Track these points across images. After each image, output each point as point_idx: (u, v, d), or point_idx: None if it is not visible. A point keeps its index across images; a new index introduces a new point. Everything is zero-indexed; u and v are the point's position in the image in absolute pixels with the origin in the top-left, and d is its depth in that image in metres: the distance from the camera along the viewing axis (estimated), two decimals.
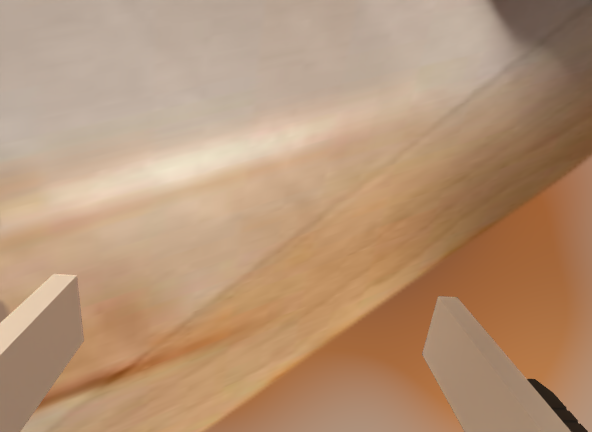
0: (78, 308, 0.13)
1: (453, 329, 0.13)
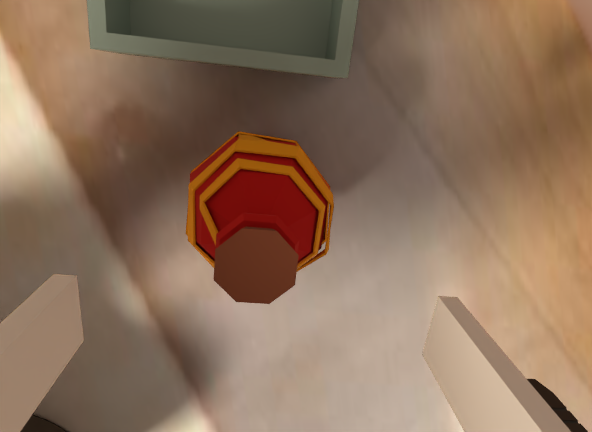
0: (78, 308, 0.13)
1: (454, 329, 0.13)
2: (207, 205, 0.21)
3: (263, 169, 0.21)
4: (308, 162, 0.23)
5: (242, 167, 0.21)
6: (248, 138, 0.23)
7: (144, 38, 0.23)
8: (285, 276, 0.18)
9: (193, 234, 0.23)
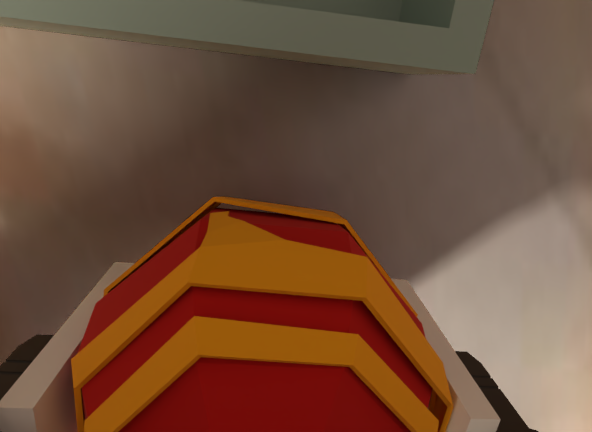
0: None
1: None
2: None
3: (273, 356, 0.07)
4: (391, 297, 0.09)
5: (207, 354, 0.07)
6: (231, 235, 0.09)
7: None
8: None
9: None
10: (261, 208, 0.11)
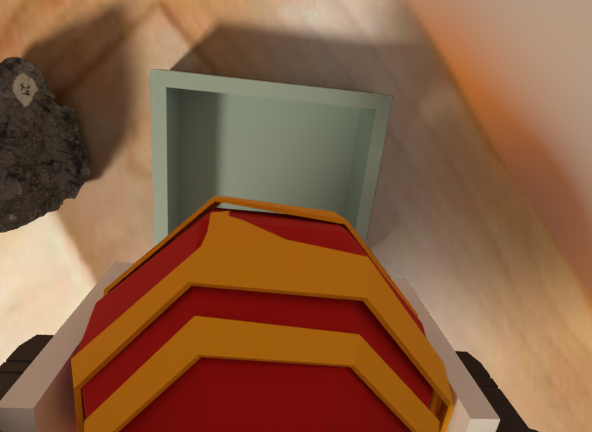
0: None
1: None
2: None
3: (273, 356, 0.07)
4: (391, 298, 0.09)
5: (207, 354, 0.07)
6: (232, 235, 0.09)
7: None
8: None
9: None
10: (261, 208, 0.11)
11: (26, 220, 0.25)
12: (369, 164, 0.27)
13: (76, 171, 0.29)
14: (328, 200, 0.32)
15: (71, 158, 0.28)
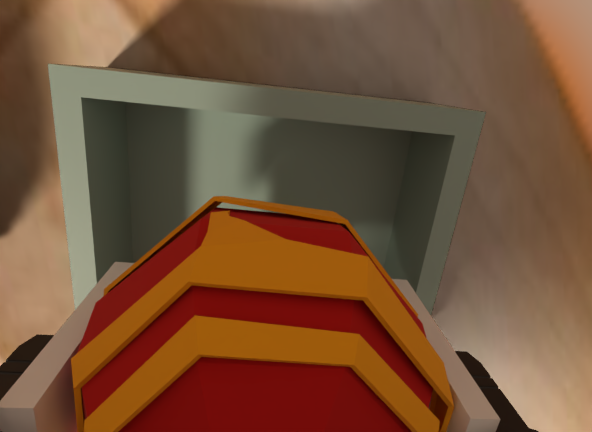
0: None
1: None
2: None
3: (274, 356, 0.07)
4: (392, 297, 0.09)
5: (207, 353, 0.07)
6: (232, 234, 0.09)
7: None
8: None
9: None
10: (262, 207, 0.11)
11: None
12: (436, 225, 0.16)
13: None
14: None
15: None
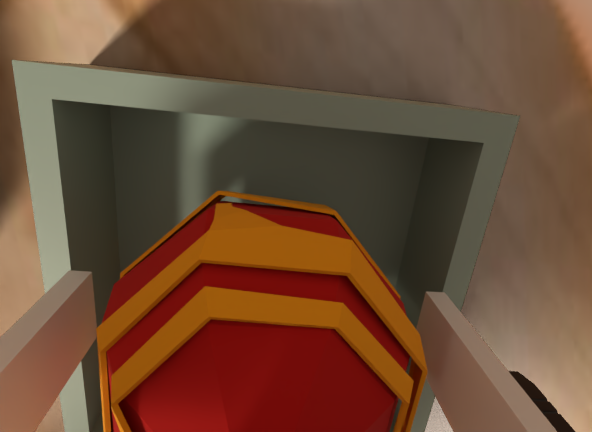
0: (93, 304, 0.13)
1: (440, 323, 0.13)
2: (128, 404, 0.08)
3: (271, 319, 0.08)
4: (373, 275, 0.10)
5: (216, 316, 0.08)
6: (235, 221, 0.10)
7: None
8: None
9: None
10: (260, 200, 0.12)
11: None
12: (460, 244, 0.14)
13: None
14: None
15: None
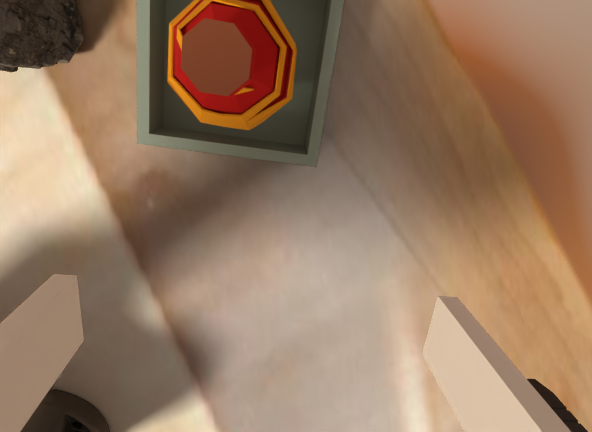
0: (78, 308, 0.13)
1: (454, 329, 0.13)
2: (183, 33, 0.25)
3: (232, 3, 0.25)
4: (274, 9, 0.26)
5: None
6: None
7: (174, 138, 0.33)
8: (241, 69, 0.21)
9: (171, 67, 0.26)
10: None
11: (23, 61, 0.29)
12: (328, 32, 0.30)
13: (70, 35, 0.32)
14: (297, 83, 0.36)
15: (66, 22, 0.32)
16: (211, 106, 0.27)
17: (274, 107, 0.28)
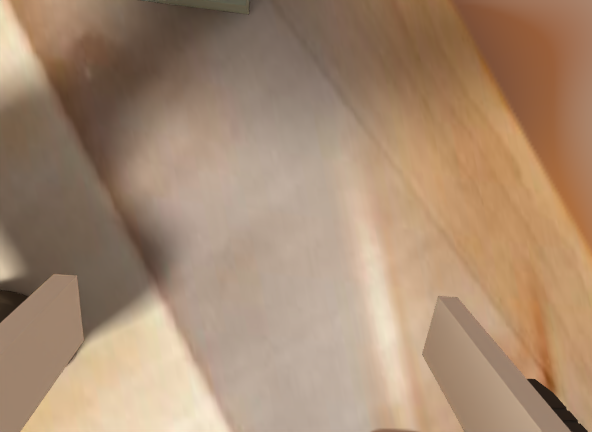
0: (79, 308, 0.13)
1: (453, 329, 0.13)
2: None
3: None
4: None
5: None
6: None
7: None
8: None
9: None
10: None
11: None
12: None
13: None
14: None
15: None
16: None
17: None
